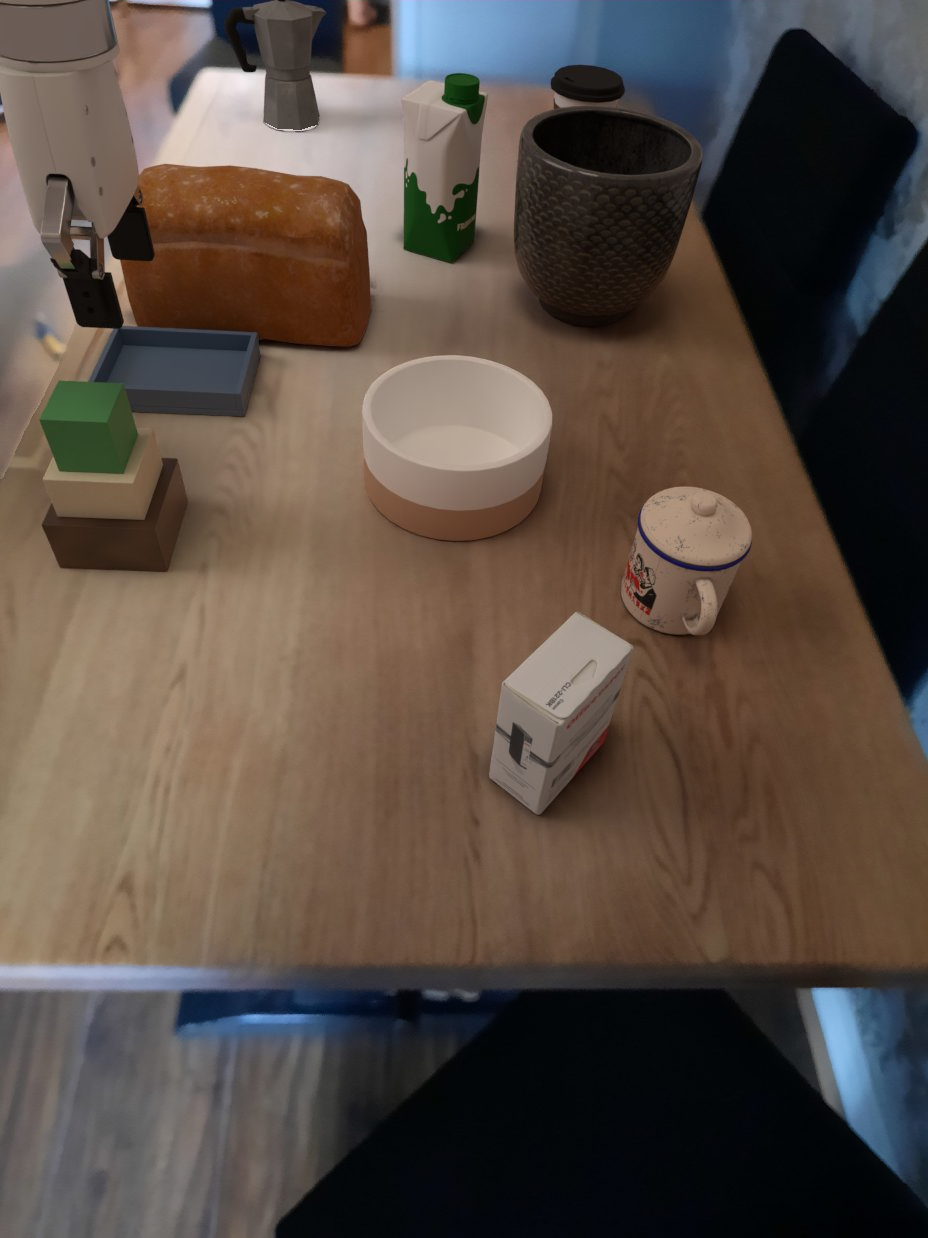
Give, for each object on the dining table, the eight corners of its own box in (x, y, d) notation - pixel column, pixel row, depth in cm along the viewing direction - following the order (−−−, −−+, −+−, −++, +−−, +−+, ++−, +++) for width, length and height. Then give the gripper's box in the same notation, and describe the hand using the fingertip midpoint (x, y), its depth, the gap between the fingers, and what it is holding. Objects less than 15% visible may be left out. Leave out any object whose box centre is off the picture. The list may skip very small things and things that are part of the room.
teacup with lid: (608, 561, 77) (635, 460, 68) (705, 560, 78) (745, 459, 69) (635, 668, 69) (671, 570, 60) (743, 665, 70) (794, 568, 61)
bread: (162, 274, 104) (131, 136, 92) (376, 292, 104) (373, 157, 93) (127, 336, 95) (88, 192, 83) (361, 356, 96) (356, 215, 84)
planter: (670, 281, 111) (711, 121, 96) (651, 362, 98) (696, 192, 84) (522, 253, 113) (540, 93, 99) (486, 329, 101) (501, 158, 86)
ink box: (553, 705, 67) (578, 605, 57) (605, 742, 65) (639, 644, 56) (484, 777, 62) (499, 681, 53) (538, 818, 60) (563, 726, 51)
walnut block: (59, 567, 73) (40, 525, 69) (89, 496, 78) (73, 453, 75) (167, 571, 73) (154, 529, 69) (188, 500, 79) (177, 458, 75)
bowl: (339, 445, 85) (335, 373, 79) (494, 410, 91) (502, 340, 84) (403, 562, 75) (404, 490, 69) (572, 515, 81) (588, 444, 74)
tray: (92, 409, 87) (85, 386, 84) (120, 348, 94) (114, 324, 92) (244, 416, 87) (240, 393, 85) (260, 354, 95) (257, 332, 92)
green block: (58, 471, 67) (38, 419, 63) (76, 431, 70) (58, 379, 67) (123, 474, 67) (107, 422, 64) (138, 434, 71) (123, 382, 67)
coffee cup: (569, 183, 128) (583, 94, 119) (527, 155, 134) (536, 68, 124) (625, 170, 132) (642, 83, 123) (581, 143, 138) (594, 59, 129)
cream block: (57, 517, 69) (41, 479, 66) (81, 461, 74) (68, 423, 71) (144, 520, 70) (133, 483, 67) (163, 465, 74) (153, 427, 71)
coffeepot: (322, 106, 141) (314, -27, 128) (341, 128, 136) (334, -8, 122) (230, 115, 137) (211, -22, 123) (245, 138, 131) (227, -2, 118)
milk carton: (455, 268, 109) (464, 95, 94) (392, 250, 112) (392, 77, 96) (483, 240, 115) (496, 72, 100) (423, 223, 117) (427, 56, 102)
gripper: (30, -22, 57) (98, 233, 70) (-74, 70, 46) (31, 352, 59) (145, -14, 57) (192, 238, 70) (70, 79, 46) (142, 358, 59)
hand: (118, 290), depth 64 cm, fingers open, 9 cm apart
